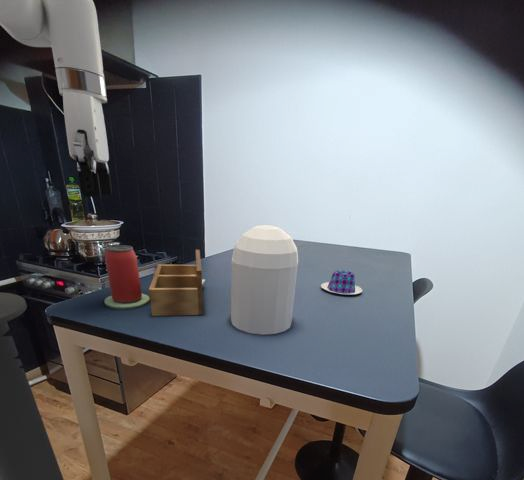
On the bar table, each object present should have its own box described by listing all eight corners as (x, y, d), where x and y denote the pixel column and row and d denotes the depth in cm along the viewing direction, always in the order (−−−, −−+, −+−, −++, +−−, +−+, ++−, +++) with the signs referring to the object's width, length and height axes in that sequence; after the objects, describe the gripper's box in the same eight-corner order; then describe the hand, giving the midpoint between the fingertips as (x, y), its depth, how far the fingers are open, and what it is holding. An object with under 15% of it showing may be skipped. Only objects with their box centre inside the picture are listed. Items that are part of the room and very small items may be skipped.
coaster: (100, 309, 71) (99, 307, 70) (109, 294, 79) (109, 292, 79) (147, 308, 73) (146, 306, 72) (151, 294, 81) (151, 292, 81)
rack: (151, 316, 69) (146, 270, 64) (160, 286, 87) (156, 248, 82) (203, 314, 71) (201, 270, 66) (200, 286, 89) (199, 249, 84)
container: (299, 317, 73) (310, 225, 64) (280, 340, 62) (290, 233, 53) (246, 306, 77) (249, 218, 68) (219, 326, 66) (218, 224, 57)
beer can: (147, 299, 76) (141, 247, 71) (123, 306, 72) (114, 252, 66) (130, 292, 80) (123, 243, 74) (106, 299, 75) (96, 247, 69)
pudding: (358, 285, 98) (361, 268, 96) (365, 298, 88) (369, 280, 85) (319, 282, 99) (321, 265, 96) (321, 294, 88) (324, 276, 86)
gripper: (74, 95, 63) (89, 191, 71) (38, 71, 48) (62, 196, 56) (115, 100, 64) (125, 194, 72) (92, 79, 49) (108, 199, 57)
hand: (98, 195), depth 64 cm, fingers open, 9 cm apart
